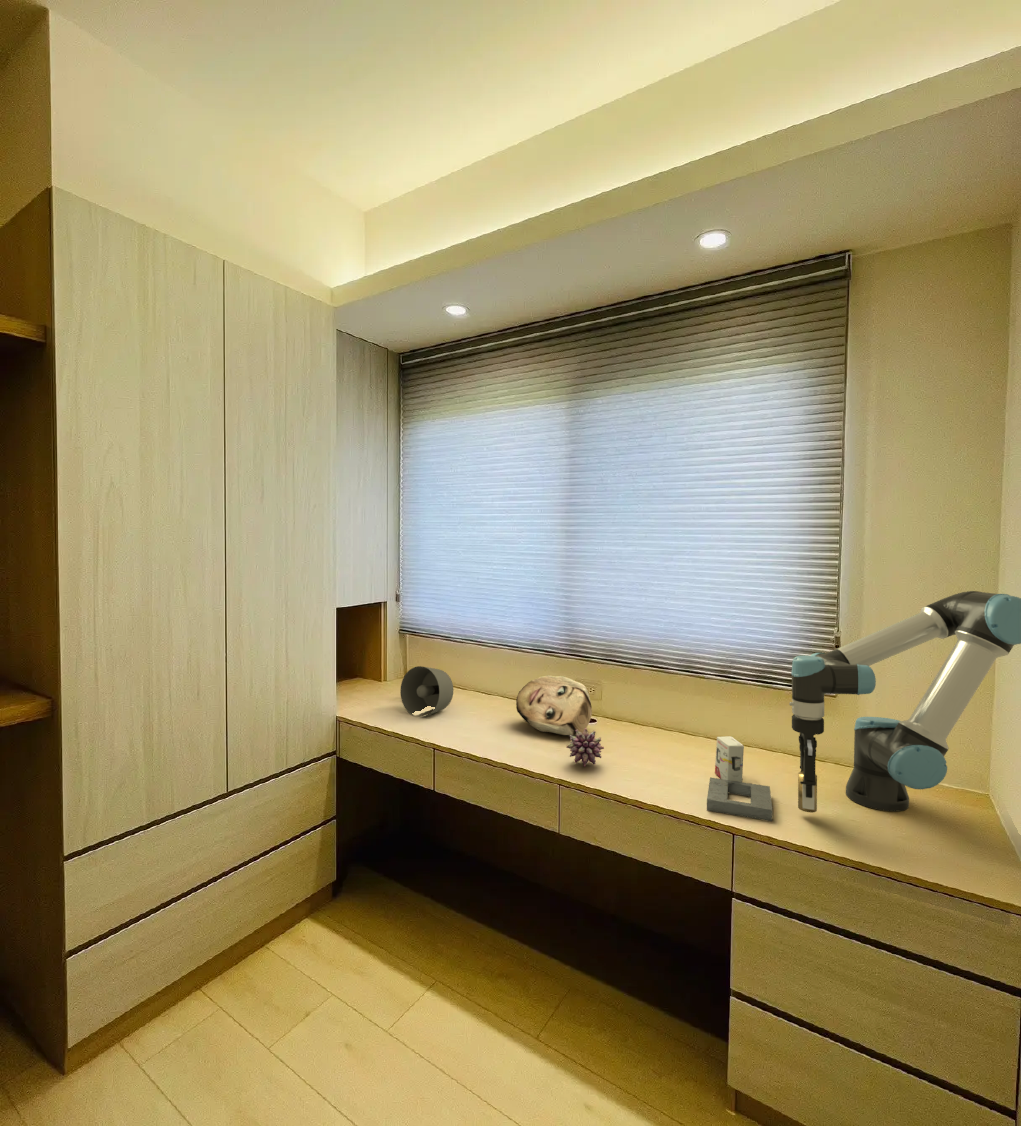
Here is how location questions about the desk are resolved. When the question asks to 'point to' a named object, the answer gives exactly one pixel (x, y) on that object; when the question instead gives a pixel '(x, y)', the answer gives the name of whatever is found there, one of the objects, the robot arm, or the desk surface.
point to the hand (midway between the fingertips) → (807, 804)
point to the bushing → (800, 787)
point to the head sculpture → (555, 705)
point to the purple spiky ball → (585, 747)
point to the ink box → (729, 759)
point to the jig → (755, 809)
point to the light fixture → (426, 689)
